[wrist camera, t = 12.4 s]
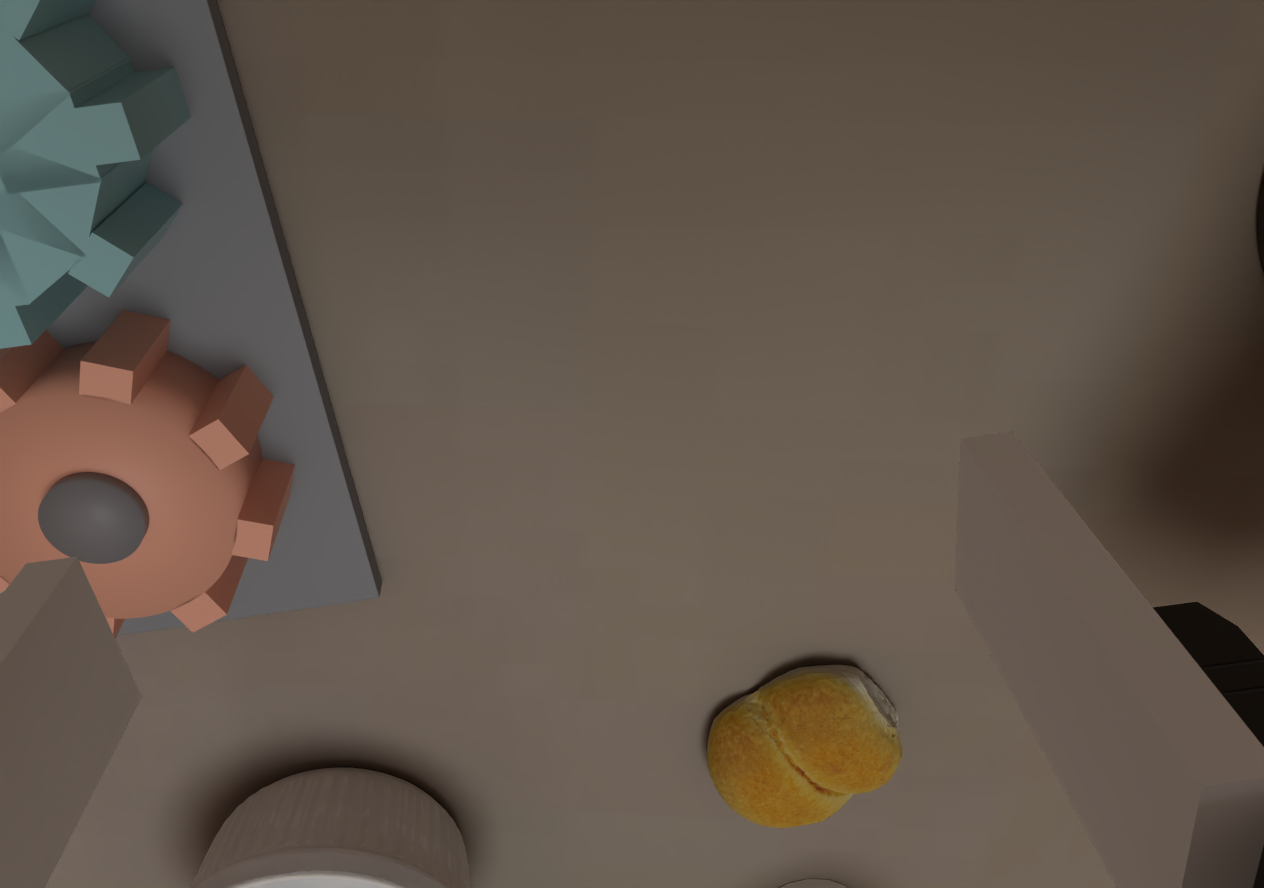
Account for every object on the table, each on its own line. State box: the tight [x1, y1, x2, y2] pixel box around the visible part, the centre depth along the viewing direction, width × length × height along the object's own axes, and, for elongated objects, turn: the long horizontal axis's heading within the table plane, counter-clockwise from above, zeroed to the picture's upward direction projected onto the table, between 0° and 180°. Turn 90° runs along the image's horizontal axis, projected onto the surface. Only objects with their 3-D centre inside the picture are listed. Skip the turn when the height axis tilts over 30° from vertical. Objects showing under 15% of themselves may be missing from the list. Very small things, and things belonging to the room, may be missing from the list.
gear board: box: [0, 0, 382, 638], centre depth 33 cm, size 28×14×6 cm, turn 6°
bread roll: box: [707, 665, 902, 828], centre depth 48 cm, size 8×9×4 cm
